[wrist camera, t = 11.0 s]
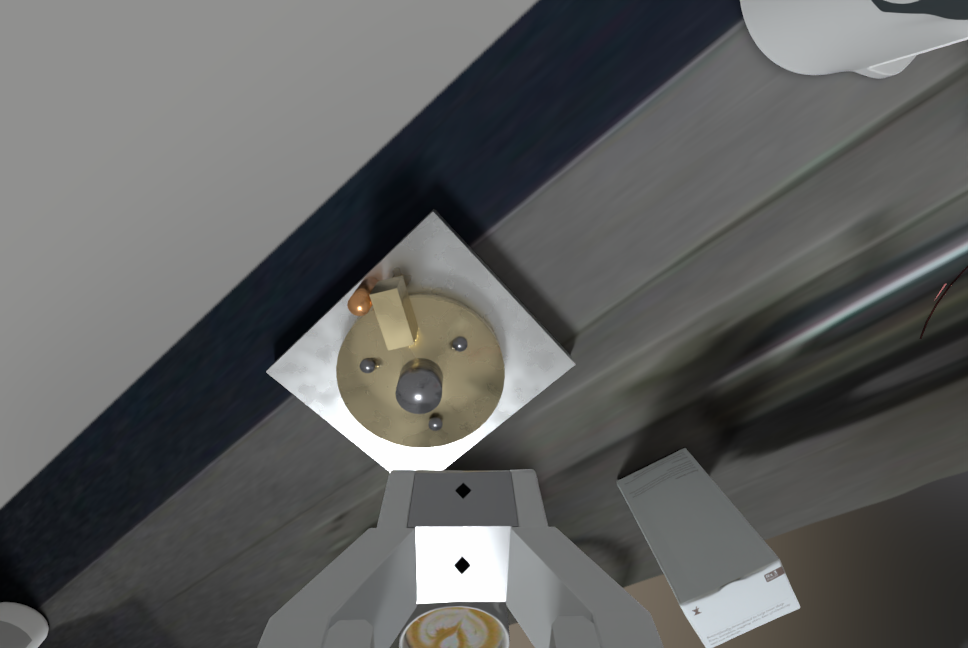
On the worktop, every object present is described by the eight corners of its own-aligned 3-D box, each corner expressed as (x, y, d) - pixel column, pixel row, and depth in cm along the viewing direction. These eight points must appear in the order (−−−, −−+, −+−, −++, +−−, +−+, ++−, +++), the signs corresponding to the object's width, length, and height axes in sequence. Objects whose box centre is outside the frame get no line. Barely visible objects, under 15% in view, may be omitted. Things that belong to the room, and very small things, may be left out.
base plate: (434, 208, 37) (428, 220, 31) (570, 354, 43) (590, 392, 36) (274, 362, 42) (239, 401, 35) (416, 478, 47) (410, 531, 40)
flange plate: (517, 418, 42) (525, 452, 38) (370, 452, 43) (359, 489, 38) (477, 252, 37) (480, 268, 32) (308, 293, 37) (286, 314, 32)
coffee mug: (441, 599, 53) (437, 696, 44) (391, 544, 50) (376, 635, 40) (543, 550, 51) (562, 640, 42) (499, 489, 48) (509, 572, 39)
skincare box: (635, 515, 50) (702, 656, 36) (613, 476, 48) (676, 610, 34) (707, 482, 49) (806, 614, 35) (688, 441, 47) (784, 564, 33)
